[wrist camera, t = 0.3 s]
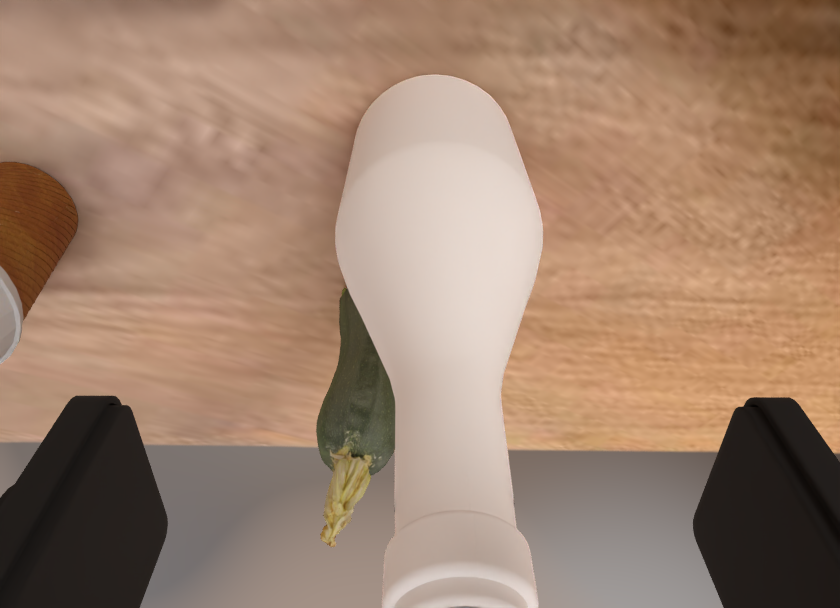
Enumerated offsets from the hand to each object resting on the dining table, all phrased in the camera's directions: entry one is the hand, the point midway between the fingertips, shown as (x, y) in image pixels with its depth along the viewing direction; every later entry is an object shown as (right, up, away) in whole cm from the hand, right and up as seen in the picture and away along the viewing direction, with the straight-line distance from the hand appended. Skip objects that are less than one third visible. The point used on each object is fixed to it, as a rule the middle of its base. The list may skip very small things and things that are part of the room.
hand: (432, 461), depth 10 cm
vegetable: (-3, +4, +35) cm, 35 cm away
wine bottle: (+1, +12, +29) cm, 31 cm away
